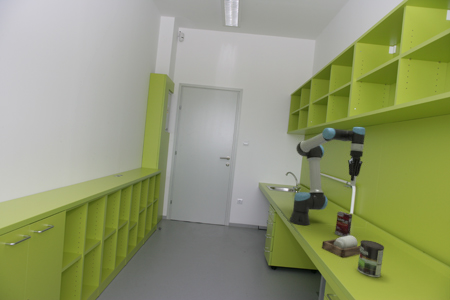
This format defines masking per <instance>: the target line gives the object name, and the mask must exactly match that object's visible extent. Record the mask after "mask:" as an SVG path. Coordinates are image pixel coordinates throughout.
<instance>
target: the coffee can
mask: <svg viewBox="0 0 450 300" xmlns="http://www.w3.org/2000/svg"><path fill="white" fill-rule="evenodd" d="M359 246H360V253H359V254H358V261H357V271H358V272H359V273H361V274H363V275H365V276H368V277H372V278H380V277H381V272H382V264H383V257H384V249H385V246H384V245H383V244H380V243H378V242H376V241H373V240H366V239H364V240H360V245H359Z"/></svg>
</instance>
